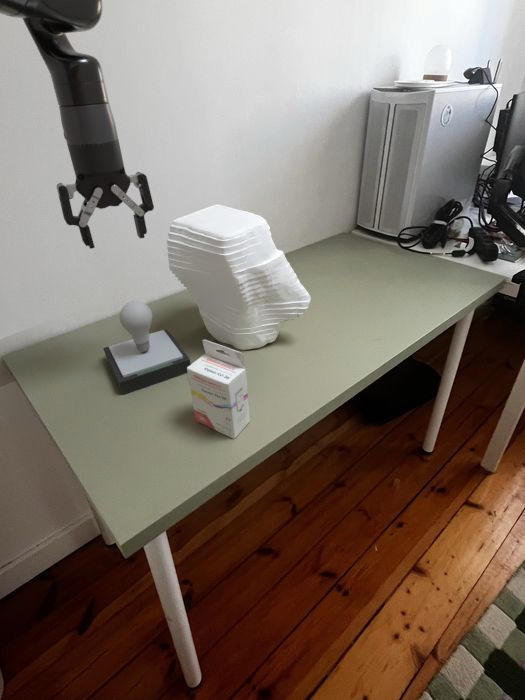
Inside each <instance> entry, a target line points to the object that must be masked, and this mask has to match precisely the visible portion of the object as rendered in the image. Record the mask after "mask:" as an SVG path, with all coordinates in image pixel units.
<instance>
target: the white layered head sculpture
mask: <svg viewBox="0 0 525 700" xmlns="http://www.w3.org/2000/svg"><path fill="white" fill-rule="evenodd" d="M272 234H273V233H272V232H271V226H270V225H269V224H268V222H267V220H266V219H265V218H264V217H263V216H261V215H260V214H255V213H253V212H250V211H246V210H243V209H238V208H234V207H230V206H227V205H222V204H218V203H216V204H213V205H210V206H207V207H205V208H202V209H200V210H196V211H194V212H191V213H189V214H186V215H182V216H181V217H178V218H175V219H174V220H172V224H170V225H169V232H168V233H167V235H168V239H166V244H167V247H166V248H167V257H168V259H167V260H168V262H169V263H168V264H169V265H168V268H169V271H171V273H172V274H173V275H174V276H175V278H177V280H178V281H179V282H180V284H182V285H183V287H185V288H186V290H187V291H188V294H189V297H190V298H191V299H192V301H193V302H194V303H195V304H196V306H197V308H198V311H199V312H198V313H199V314H200V317H201V318H202V321H203V324H204V326H205V327H206V331H207V332H208V333H209V334H210V335H211V336H212V337H213V338H214V339H215V340H217V341H218V342H220V343H224V344H228V345H231V346H232V347H234V348H235V349H237V350H242V351H247V350H252V349H259V348H262V347H264V346H266V345H267V344H270V343H273V342H275V341H276V339H277V338H278V335H279V334H280V332H281V331H282V330H281V329H282V328H283V326H284V324H285V322H288V321H294V320H295V319H297V318H300V317H301V316H303V315H304V313H306V312H307V310H308V309H309V307H310V305H311V299H312V297H311V295H310V293H309V292H308V291H307V288H305V286H304V285H303V284H302V283H301V280H300V279H299V278H298V275H297V274H296V272H295V271H294V268H292V266H291V263H290V262H289V261H288V260H287V258H286V255H285V252H284V251H283V250H281V249H277V247H276V244H275V241H274V240H273V238H272Z"/></svg>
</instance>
